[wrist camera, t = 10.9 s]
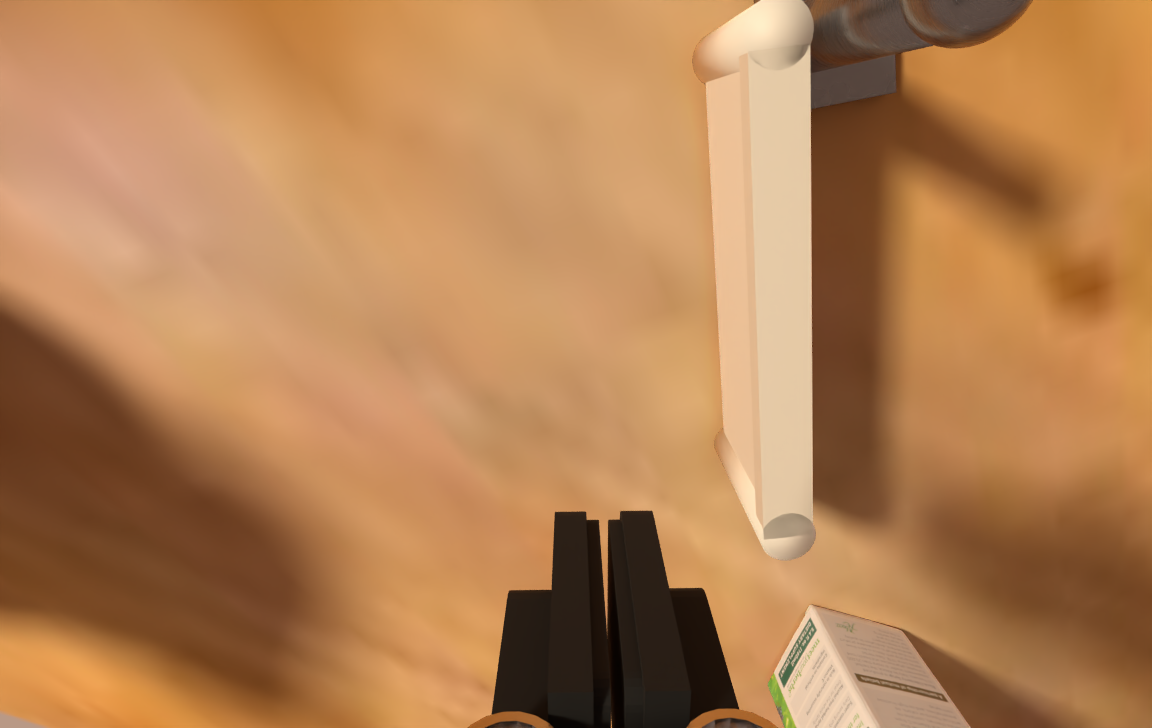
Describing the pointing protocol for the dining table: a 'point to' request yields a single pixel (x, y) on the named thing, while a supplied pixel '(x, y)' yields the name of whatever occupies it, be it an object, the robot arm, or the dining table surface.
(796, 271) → the gate leaf
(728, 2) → the dining table surface
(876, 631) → the syrup box
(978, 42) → the gate post
